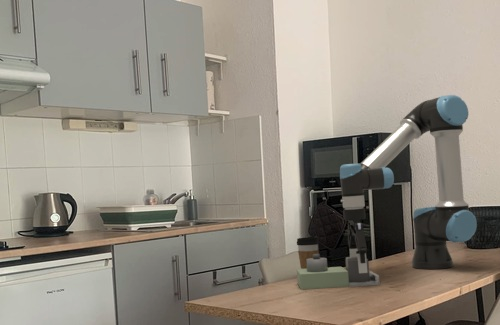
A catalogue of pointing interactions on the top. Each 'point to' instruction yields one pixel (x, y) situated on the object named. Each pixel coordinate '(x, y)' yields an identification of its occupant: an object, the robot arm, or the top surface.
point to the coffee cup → (307, 249)
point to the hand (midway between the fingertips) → (358, 270)
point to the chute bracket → (373, 281)
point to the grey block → (356, 270)
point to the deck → (321, 275)
